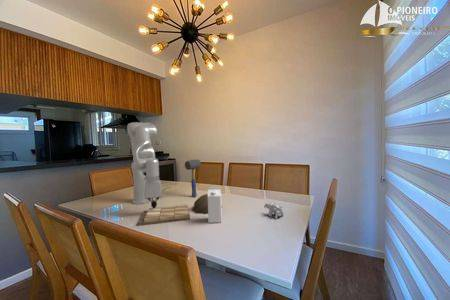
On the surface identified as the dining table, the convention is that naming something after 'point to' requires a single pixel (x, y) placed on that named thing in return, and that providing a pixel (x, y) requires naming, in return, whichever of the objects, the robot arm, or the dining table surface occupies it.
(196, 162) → the rubber mallet
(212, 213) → the milk carton
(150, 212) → the loose plank
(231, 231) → the dining table surface
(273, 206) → the elephant statuette
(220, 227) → the dining table surface
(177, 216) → the floor board
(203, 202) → the decorative dome
